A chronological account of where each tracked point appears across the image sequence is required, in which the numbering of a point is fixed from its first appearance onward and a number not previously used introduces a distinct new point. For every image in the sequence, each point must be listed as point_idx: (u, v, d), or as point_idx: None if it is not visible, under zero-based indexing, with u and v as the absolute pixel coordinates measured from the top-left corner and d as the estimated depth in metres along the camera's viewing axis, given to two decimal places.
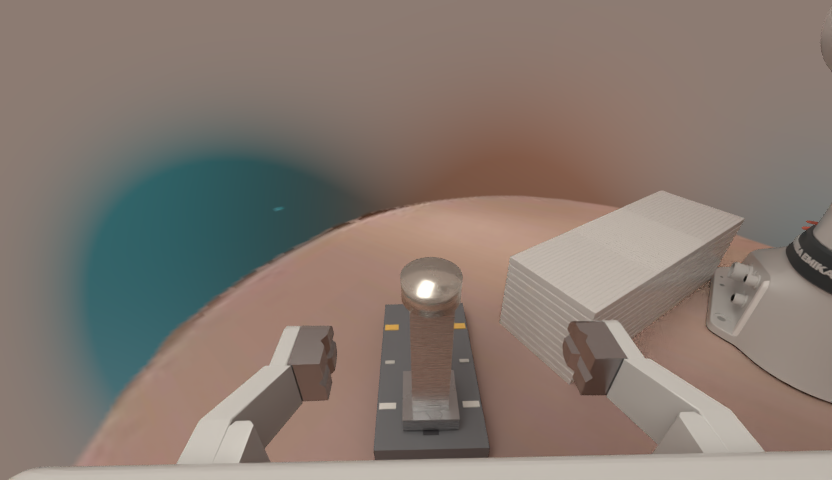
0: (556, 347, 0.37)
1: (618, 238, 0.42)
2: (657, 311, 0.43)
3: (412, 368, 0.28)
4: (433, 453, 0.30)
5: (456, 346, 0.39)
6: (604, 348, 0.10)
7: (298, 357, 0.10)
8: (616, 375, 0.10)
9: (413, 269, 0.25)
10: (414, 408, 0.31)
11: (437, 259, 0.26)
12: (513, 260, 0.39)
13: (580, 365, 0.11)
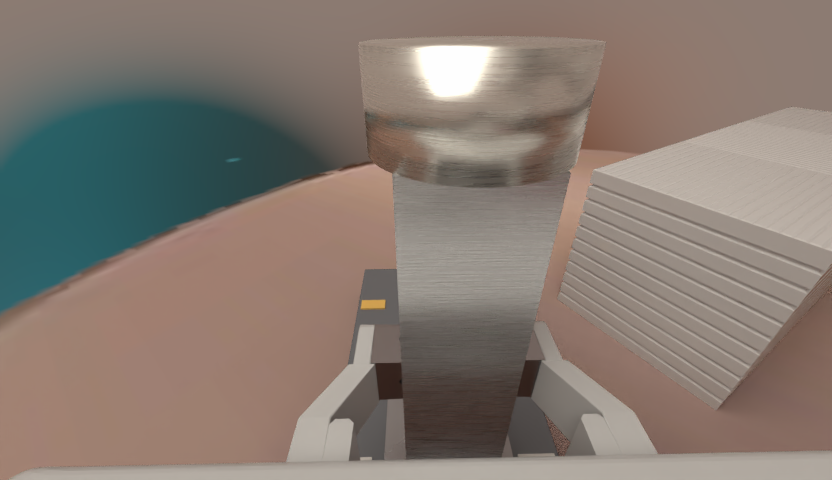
0: (692, 337, 0.19)
1: (775, 149, 0.24)
2: None
3: (406, 388, 0.10)
4: None
5: None
6: None
7: (380, 356, 0.10)
8: (537, 376, 0.10)
9: (409, 41, 0.07)
10: None
11: (487, 36, 0.08)
12: (600, 175, 0.21)
13: None
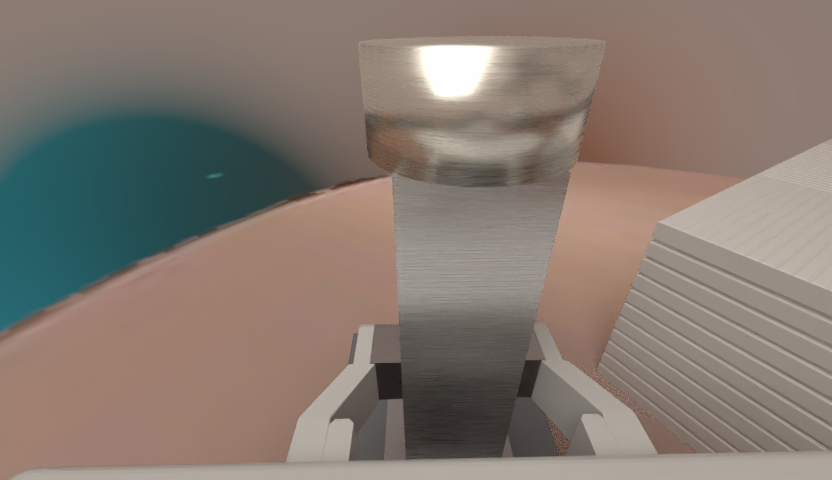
0: None
1: None
2: None
3: (405, 388, 0.09)
4: None
5: (520, 449, 0.15)
6: None
7: (380, 356, 0.10)
8: (537, 376, 0.10)
9: (409, 40, 0.07)
10: None
11: (487, 36, 0.08)
12: (669, 230, 0.15)
13: None
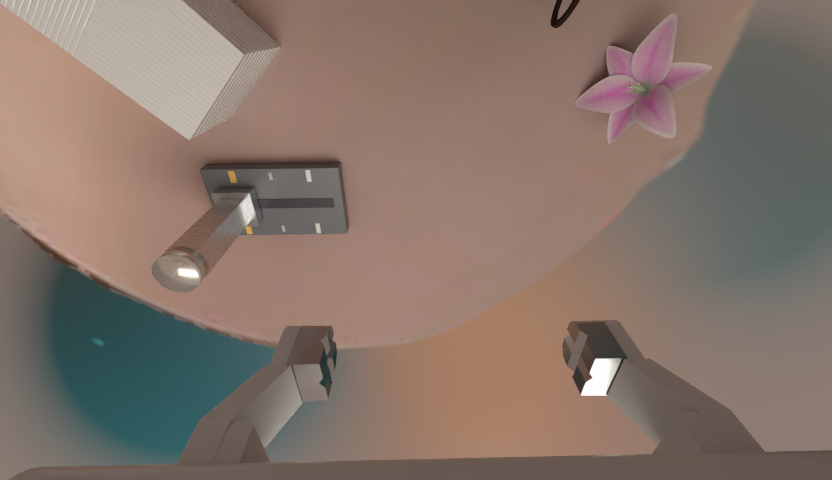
0: (258, 67, 0.38)
1: None
2: None
3: (231, 243, 0.42)
4: (343, 199, 0.49)
5: (256, 180, 0.46)
6: (604, 348, 0.10)
7: (298, 357, 0.10)
8: (617, 375, 0.10)
9: (173, 285, 0.35)
10: (249, 220, 0.47)
11: (154, 271, 0.34)
12: (192, 135, 0.35)
13: (580, 365, 0.11)
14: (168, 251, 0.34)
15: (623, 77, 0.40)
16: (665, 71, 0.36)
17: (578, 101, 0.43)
